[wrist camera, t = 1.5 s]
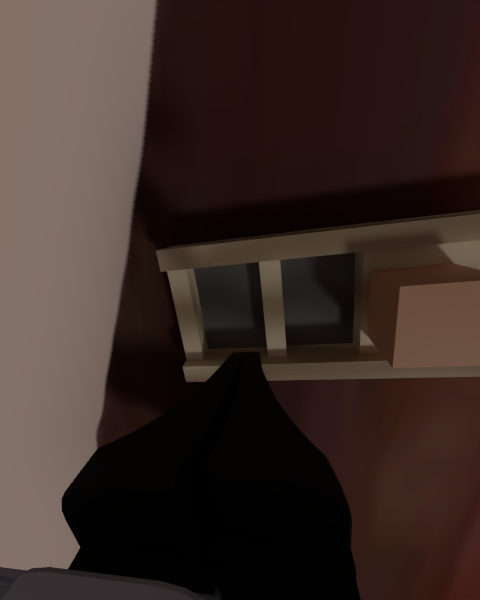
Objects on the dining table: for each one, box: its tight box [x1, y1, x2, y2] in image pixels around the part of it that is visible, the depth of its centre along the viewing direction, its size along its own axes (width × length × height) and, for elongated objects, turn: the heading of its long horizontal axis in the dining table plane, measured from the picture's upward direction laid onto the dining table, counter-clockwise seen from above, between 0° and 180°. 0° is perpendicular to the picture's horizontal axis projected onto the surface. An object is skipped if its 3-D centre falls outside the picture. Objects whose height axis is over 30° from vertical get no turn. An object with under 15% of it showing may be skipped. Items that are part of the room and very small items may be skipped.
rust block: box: [368, 263, 480, 368], centre depth 15 cm, size 5×5×4 cm
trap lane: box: [156, 210, 480, 382], centre depth 17 cm, size 11×30×3 cm, turn 97°
